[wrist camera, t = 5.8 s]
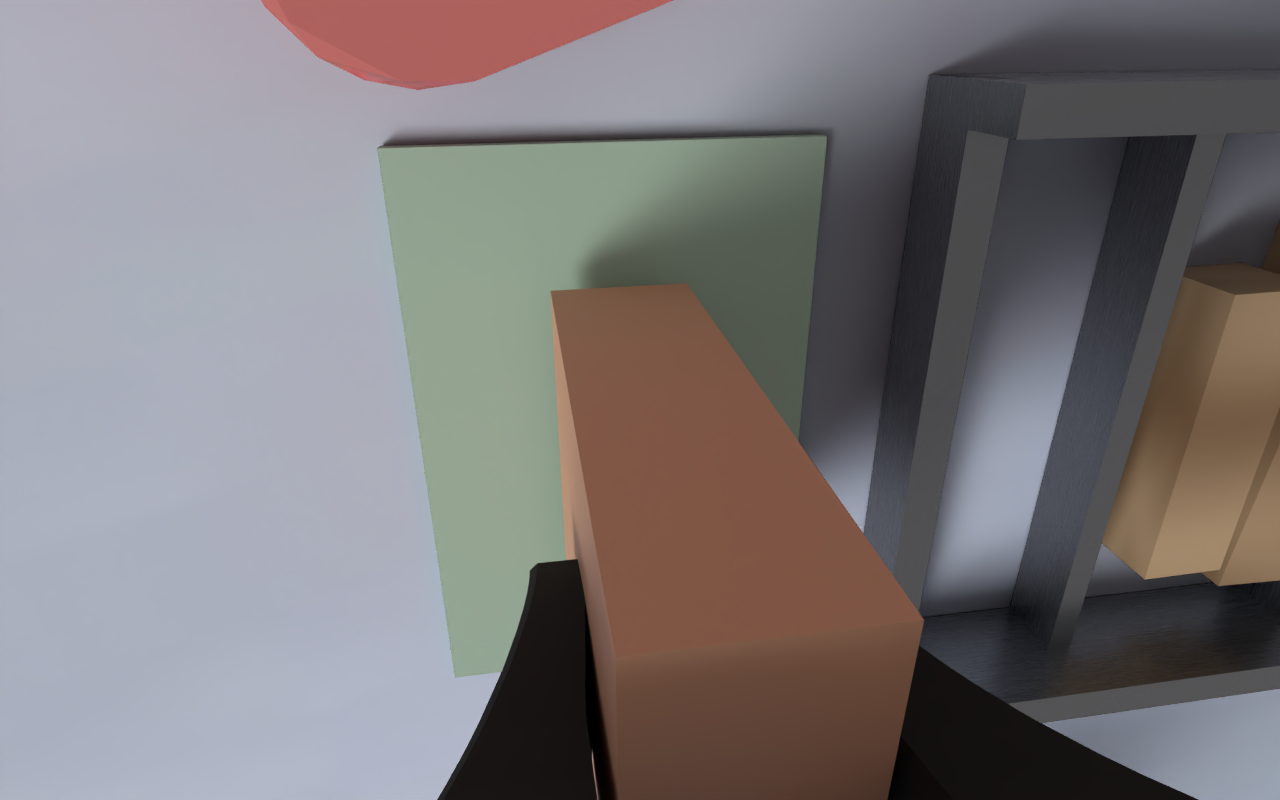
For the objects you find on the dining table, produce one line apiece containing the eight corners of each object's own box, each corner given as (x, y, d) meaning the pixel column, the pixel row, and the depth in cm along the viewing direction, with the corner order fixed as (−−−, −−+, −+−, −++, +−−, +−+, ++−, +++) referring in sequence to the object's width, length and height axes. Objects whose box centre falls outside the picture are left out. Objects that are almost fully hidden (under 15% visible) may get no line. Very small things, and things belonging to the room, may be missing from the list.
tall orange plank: (679, 585, 17) (832, 1069, 9) (568, 597, 17) (626, 1111, 9) (687, 282, 14) (924, 620, 6) (550, 290, 14) (616, 657, 6)
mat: (776, 629, 20) (780, 637, 19) (455, 668, 18) (454, 677, 18) (821, 134, 14) (826, 136, 14) (380, 145, 13) (376, 148, 13)
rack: (1246, 600, 22) (1348, 678, 19) (846, 650, 20) (899, 743, 18) (1470, 66, 16) (1665, 72, 13) (929, 74, 14) (1027, 83, 12)
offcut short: (1151, 518, 20) (1220, 569, 18) (1082, 526, 20) (1144, 579, 18) (1231, 259, 17) (1323, 287, 15) (1151, 265, 17) (1235, 295, 15)
